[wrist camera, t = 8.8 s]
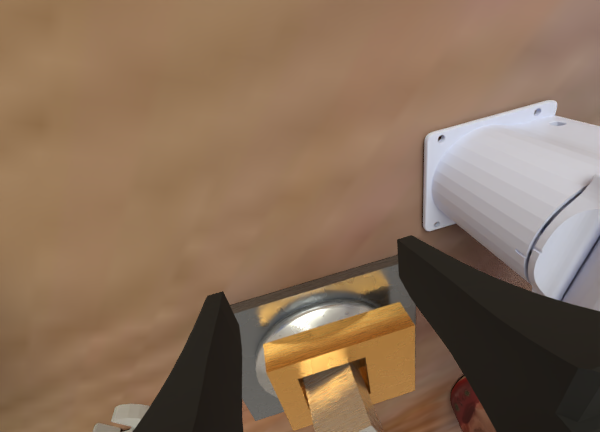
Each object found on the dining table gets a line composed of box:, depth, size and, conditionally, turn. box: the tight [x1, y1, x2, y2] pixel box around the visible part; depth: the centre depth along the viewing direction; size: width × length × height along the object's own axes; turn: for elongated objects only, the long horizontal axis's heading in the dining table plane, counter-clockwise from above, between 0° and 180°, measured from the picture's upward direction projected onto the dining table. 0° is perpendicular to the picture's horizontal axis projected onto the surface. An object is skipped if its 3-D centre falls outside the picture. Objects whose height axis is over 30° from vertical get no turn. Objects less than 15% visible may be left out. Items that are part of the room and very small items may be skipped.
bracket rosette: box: [230, 255, 416, 431], centre depth 27 cm, size 18×16×4 cm
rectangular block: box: [303, 360, 384, 432], centre depth 25 cm, size 4×4×7 cm
